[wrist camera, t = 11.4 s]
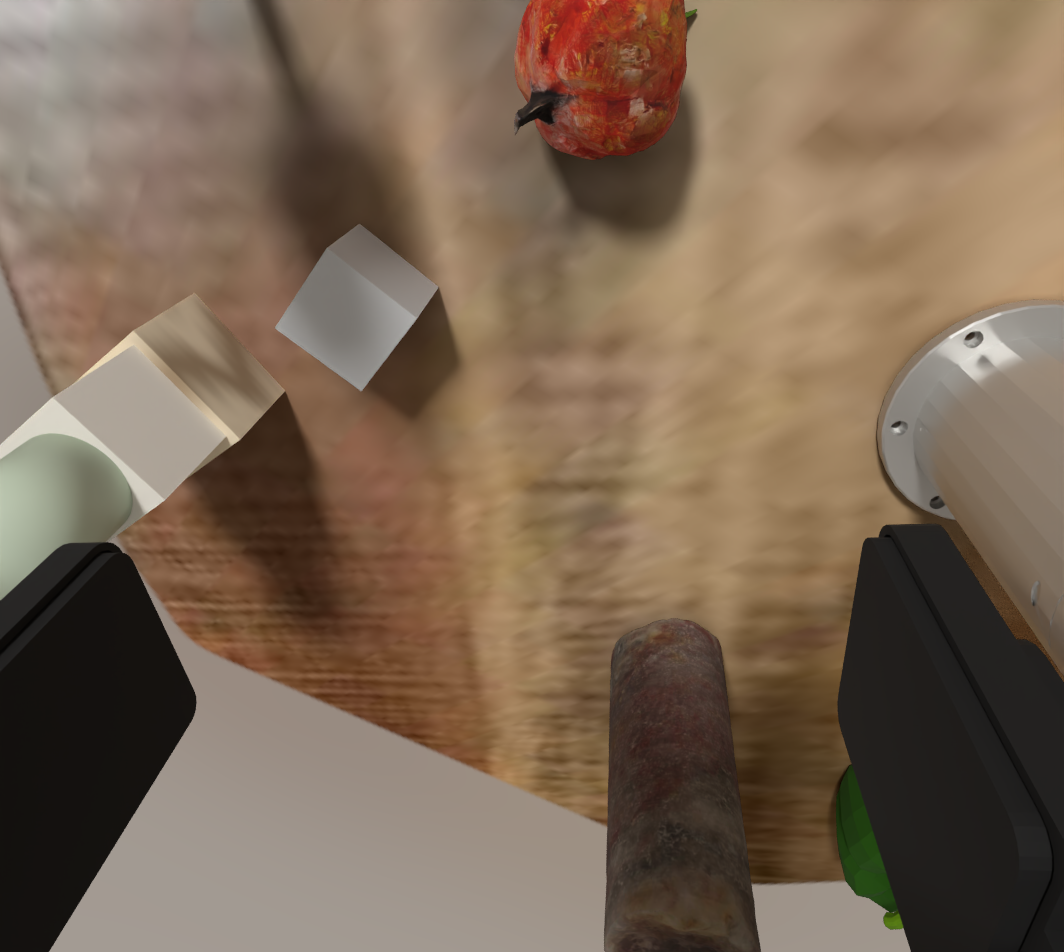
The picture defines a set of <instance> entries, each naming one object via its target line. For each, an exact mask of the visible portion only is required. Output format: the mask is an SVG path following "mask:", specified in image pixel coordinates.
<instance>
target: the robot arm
mask: <svg viewBox="0 0 1064 952" xmlns="http://www.w3.org/2000/svg"><path fill="white" fill-rule="evenodd" d="M970 332H971V334H970V335H969V336H968V337H966V335H968V334H969V333H970ZM895 422H896V423H895ZM894 423H895V424H894ZM877 441H878V449H879V455H880V458H881V460H882V463H883V465H884V468H885V470H886V472H887V474H888V475H889V477H890V478H891V480H892V481H893V483H894V485H895V486H896V487H897V488H898V490H899V491H900V492H901V493H902V494H903V495H904V496H905V497H906V498H907V499H908V500H909V501H911V502H912V503H914V504H915V505H917V506H918V507H920V508H921V509H923V510H925V511H927V512H930V513H932V514H934V515H937V516H939V517H942V518H946V519H951V520H956V521H957V522H958V523H959V525H960V526H961V528H962V529H963V531H964V532H965V534H966V535H967V536H968V538H969V539H970V541H971V542H972V544H973V545H974V547H975V548H976V550H977V551H978V552H979V554H980V555H981V557H982V558H983V560H984V561H985V563H986V564H987V565H988V567H989V568H990V570H991V571H992V573H993V574H994V576H995V577H996V579H997V580H998V581H999V583H1000V584H1001V586H1002V587H1003V589H1004V590H1005V592H1006V593H1007V595H1008V596H1009V597H1010V599H1011V600H1012V602H1013V603H1014V605H1015V606H1016V608H1017V609H1018V611H1019V612H1020V613H1021V615H1022V616H1023V618H1024V619H1025V621H1026V622H1027V624H1028V625H1029V627H1030V628H1031V629H1032V631H1033V632H1034V634H1035V635H1036V637H1037V638H1038V640H1039V641H1040V642H1041V644H1042V645H1043V647H1044V648H1045V650H1046V651H1047V653H1048V654H1049V656H1050V657H1051V658H1052V660H1053V661H1054V663H1055V664H1056V665H1057V667H1058V669H1059V670H1060V672H1061V673H1062V675H1063V676H1064V301H1061V300H1035V299H1033V300H1026V301H1020V302H1013V303H1006V304H1003V305H1000V306H996V307H993V308H990V309H986V310H983V311H980V312H978V313H976V314H974V315H971V316H969V317H967V318H965V319H963V320H961V321H959V322H957V323H955V324H953V325H952V326H950V327H949V328H947V329H946V330H944V331H943V332H941V333H940V334H938V335H937V336H935V337H934V338H932V339H931V340H930V341H929V342H928V343H926V344H925V345H924V346H923V347H922V348H921V349H920V350H919V351H918V352H917V353H915V354H914V355H913V356H912V357H911V359H910V360H909V361H908V362H907V363H906V365H905V366H904V367H903V368H902V370H901V371H900V372H899V373H898V375H897V376H896V378H895V380H894V381H893V383H892V385H891V387H890V389H889V390H888V392H887V394H886V396H885V399H884V402H883V405H882V408H881V411H880V414H879V419H878V429H877ZM195 710H196V695H195V692H194V690H193V687H192V685H191V683H190V681H189V679H188V677H187V675H186V673H185V670H184V668H183V666H182V664H181V662H180V660H179V658H178V656H177V653H176V651H175V649H174V647H173V645H172V643H171V641H170V639H169V637H168V635H167V632H166V630H165V628H164V626H163V624H162V622H161V619H160V618H159V615H158V613H157V611H156V609H155V607H154V605H153V603H152V600H151V598H150V596H149V594H148V592H147V590H146V588H145V586H144V583H143V581H142V579H141V577H140V575H139V573H138V571H137V569H136V567H135V564H134V562H133V561H132V559H131V558H130V557H129V556H128V555H127V554H125V553H122V551H121V550H120V548H119V547H117V546H116V545H114V544H113V543H108V542H88V543H68V544H63V545H62V546H60V547H59V548H57V549H56V550H55V551H54V552H52V553H51V554H50V555H49V556H48V557H47V558H46V559H45V560H44V561H43V562H42V563H41V564H39V565H38V566H37V567H36V568H35V569H34V570H33V571H32V572H31V573H30V574H29V575H28V576H26V577H25V578H24V579H23V580H22V581H21V582H20V583H19V584H18V585H17V586H16V587H14V588H13V589H12V590H11V591H10V592H9V593H8V594H7V595H6V596H5V597H4V598H3V599H1V600H0V952H49V951H50V949H51V947H52V946H53V944H54V943H55V941H56V939H57V938H58V936H59V935H60V933H61V931H62V930H63V928H64V926H65V925H66V923H67V922H68V920H69V918H70V917H71V915H72V913H73V912H74V910H75V909H76V907H77V905H78V904H79V902H80V901H81V899H82V897H83V896H84V894H85V892H86V891H87V889H88V888H89V886H90V884H91V882H92V881H93V880H94V878H95V876H96V875H97V873H98V871H99V870H100V868H101V867H102V865H103V863H104V862H105V860H106V858H107V857H108V855H109V854H110V852H111V850H112V849H113V847H114V846H115V844H116V842H117V841H118V839H119V838H120V836H121V834H122V833H123V831H124V829H125V828H126V826H127V825H128V823H129V821H130V820H131V818H132V816H133V815H134V813H135V812H136V810H137V808H138V807H139V805H140V804H141V802H142V800H143V799H144V797H145V795H146V794H147V792H148V791H149V789H150V787H151V786H152V784H153V782H154V781H155V779H156V778H157V776H158V774H159V773H160V771H161V770H162V768H163V766H164V765H165V763H166V762H167V760H168V758H169V757H170V755H171V753H172V752H173V750H174V749H175V747H176V745H177V744H178V742H179V741H180V739H181V737H182V736H183V734H184V732H185V731H186V729H187V728H188V726H189V724H190V723H191V721H192V719H193V717H194V713H195ZM838 718H839V724H840V728H841V732H842V735H843V738H844V741H845V744H846V748H847V751H848V754H849V757H850V760H851V763H852V767H853V770H854V773H855V776H856V779H857V782H858V785H859V789H860V792H861V795H862V798H863V801H864V804H865V808H866V811H867V814H868V817H869V820H870V823H871V827H872V830H873V833H874V836H875V839H876V842H877V845H878V849H879V852H880V855H881V858H882V861H883V864H884V868H885V871H886V874H887V877H888V880H889V883H890V887H891V890H892V893H893V896H894V899H895V902H896V905H897V909H898V912H899V915H900V918H901V921H902V924H903V928H904V930H905V934H906V937H907V940H908V943H909V946H910V950H911V952H1064V682H1063V681H1062V679H1061V678H1060V676H1059V675H1058V673H1057V672H1056V670H1055V669H1054V667H1053V666H1052V664H1051V663H1050V662H1049V660H1048V659H1047V657H1046V656H1045V655H1044V654H1043V652H1042V651H1041V650H1040V649H1039V648H1038V647H1037V646H1036V645H1035V644H1033V643H1031V642H1030V641H1028V640H1026V639H1017V640H1016V638H1015V637H1014V635H1013V634H1012V632H1011V631H1010V629H1009V628H1008V626H1007V624H1006V623H1005V621H1004V620H1003V618H1002V617H1001V615H1000V614H999V612H998V611H997V609H996V608H995V606H994V604H993V603H992V601H991V600H990V598H989V597H988V595H987V594H986V592H985V591H984V589H983V588H982V586H981V585H980V583H979V581H978V580H977V578H976V577H975V575H974V574H973V572H972V571H971V569H970V568H969V566H968V565H967V563H966V561H965V560H964V558H963V557H962V555H961V554H960V552H959V551H958V549H957V548H956V546H955V545H954V543H953V542H952V540H951V538H950V537H949V535H948V534H947V532H946V531H945V530H944V529H943V527H942V526H941V525H938V524H901V525H885V526H884V527H883V528H882V529H881V531H880V534H879V537H878V538H867V539H865V541H864V543H863V547H862V552H861V558H860V564H859V571H858V577H857V583H856V589H855V595H854V601H853V608H852V614H851V620H850V626H849V632H848V638H847V645H846V651H845V657H844V663H843V669H842V676H841V682H840V688H839V694H838Z"/></svg>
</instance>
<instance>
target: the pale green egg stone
mask: <svg viewBox="0 0 1064 952" xmlns="http://www.w3.org/2000/svg"><path fill="white" fill-rule="evenodd" d="M132 505H133V500H132V493H131V489H130V487H129V484H128V482H127V480H126V478H125V476H124V475H123V473H122V472H121V470H120V469H119V468H118V467H117V465H116V464H115V463H114V462H113V461H112V460H111V459H110V458H109V457H108V456H106V455H105V454H104V453H103V452H101V451H100V450H99V449H97V448H96V447H94V446H92V445H91V444H89V443H87V442H85V441H83V440H81V439H78V438H75V437H72V436H68V435H64V434H55V433H48V434H41V435H37V436H35V437H32V438H30V439H29V440H27V441H26V442H25V443H23V444H22V445H20V446H19V447H17V448H16V449H15V450H13V451H12V452H10V453H9V454H7V455H6V456H4V457H3V458H2V459H0V600H1V599H3V598H4V597H5V596H6V595H7V594H8V593H9V592H10V591H11V590H12V589H13V588H14V587H16V586H17V585H18V584H19V583H20V582H21V581H22V580H23V579H24V578H25V577H26V576H28V575H29V574H30V573H31V572H32V571H33V570H34V569H35V568H36V567H37V566H38V565H39V564H41V563H42V562H43V561H44V560H45V559H46V558H47V557H48V556H49V555H50V554H51V553H52V552H54V551H55V550H56V549H57V548H59V547H60V546H62V545H63V544H68V543H88V542H106V541H107V540H108V539H109V538H110V537H111V536H112V535H113V534H114V533H115V532H116V531H117V530H118V529H119V528H120V527H121V526H122V525H123V524H124V523H125V522H126V521H127V519H128V518H129V516H130V514H131V511H132Z"/></svg>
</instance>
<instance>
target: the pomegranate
mask: <svg viewBox="0 0 1064 952" xmlns="http://www.w3.org/2000/svg"><path fill="white" fill-rule="evenodd" d="M696 11H697V9H695V10H693V11H689V12H686V13H685V7H684V0H531V1H530V3H529V4H528V6H527V8H526V11H525V13H524V15H523V18H522V22H521V25H520V28H519V33H518V39H517V46H516V52H515V57H514V61H515V77H516V80H517V84H518V87H519V89H520V91H521V92H522V94H523V96H524V97H525V99H526V100H527V102H528V104H527V105H526V106H525V107H524V108H523V109H520V110H518V112H517V113H516V116H515V120H514V126H515V135H516V133H517V131H518V130H519V128H520V127H521V126H523V125H524V124H526V123H528V122H530V121H532V120H535V123H536V127H537V128H538V130H539V132H540V134H541V135H542V137H543V139H544V140H545V141H546V142H547V143H548V144H550V145H551V146H552V147H554V148H555V149H557V150H559V151H560V152H564V153H568V154H571V155H574V156H577V157H581V158H584V159H590V160H595V159H601V158H603V157H605V156H607V155H623V156H628V155H630V154H633V153H636V152H637V151H643V150H645V149H647V148H648V147H650V146H651V145H654V144H655V143H656V142H657V141H659V140H660V139H661V138H662V137H663V136H664V135H665V133H666V132H667V131H668V129H669V128H670V126H671V125H672V123H673V121H674V120H675V117H676V114H677V109H678V107H679V103H680V101H679V98H680V91H681V87H682V84H683V81H684V78H685V74H686V67H687V62H686V41H687V39H686V37H687V21H686V18H688V17H689V16H691V15H692V14H694V13H695V12H696Z"/></svg>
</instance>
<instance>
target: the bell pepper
mask: <svg viewBox="0 0 1064 952" xmlns="http://www.w3.org/2000/svg"><path fill="white" fill-rule="evenodd" d="M836 826H837V842H838V849H839V856H840V860H841V864H842V868H843V872H844V876H845V880H846V882H847V883H848V885H849V886H850V887H851V888H852V890H853V891H854V892H855V894H856V895H858V896H862V897H866V898H869V899H871V900H872V901H874V902H875V903H877V904H878V905H880V906H882V907H883V908H885V909H886V910H887V911H889V912H886V914H885V916H884V918H883V919H884V924H885V926H886V927H888V928H889V929H902V928H903V924H902V921H901V918H900V915H899V912H898V909H897V905H896V902H895V899H894V896H893V893H892V890H891V887H890V883H889V880H888V877H887V874H886V871H885V868H884V864H883V861H882V858H881V855H880V852H879V849H878V845H877V842H876V839H875V836H874V833H873V830H872V827H871V823H870V820H869V817H868V814H867V811H866V808H865V804H864V801H863V798H862V795H861V792H860V789H859V785H858V782H857V779H856V776H855V773H854V770H853V767H852V765H850V766H849V768H848V770H847V771H846V773H845V775H844V777H843V780H842V782H841V785H840V789H839V791H838V794H837V801H836ZM895 911H896V912H895ZM891 912H894V913H891Z"/></svg>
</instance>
